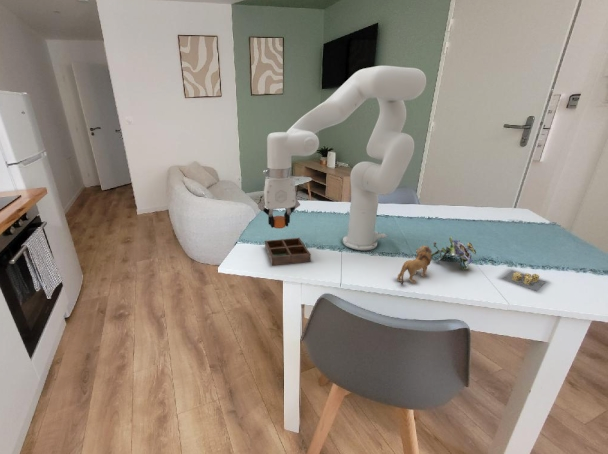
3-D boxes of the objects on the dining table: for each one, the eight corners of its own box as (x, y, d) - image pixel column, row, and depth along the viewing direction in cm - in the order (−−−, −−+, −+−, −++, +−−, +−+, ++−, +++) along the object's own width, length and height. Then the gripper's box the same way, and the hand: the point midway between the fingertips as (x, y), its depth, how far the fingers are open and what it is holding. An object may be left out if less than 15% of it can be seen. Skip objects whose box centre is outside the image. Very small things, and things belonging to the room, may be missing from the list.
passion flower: (460, 282, 96) (479, 268, 86) (424, 271, 99) (438, 256, 89) (463, 253, 101) (482, 237, 90) (429, 243, 104) (443, 226, 94)
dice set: (538, 280, 86) (540, 275, 85) (531, 286, 83) (534, 281, 83) (516, 273, 90) (518, 268, 89) (509, 279, 87) (511, 273, 87)
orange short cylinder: (283, 223, 102) (283, 215, 101) (286, 227, 98) (286, 219, 97) (271, 224, 102) (271, 216, 100) (274, 229, 98) (274, 220, 96)
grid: (299, 244, 115) (299, 237, 114) (310, 261, 102) (310, 254, 101) (264, 248, 114) (264, 240, 112) (271, 265, 101) (271, 257, 100)
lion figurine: (414, 265, 97) (419, 241, 93) (431, 272, 93) (437, 246, 89) (392, 283, 88) (397, 257, 85) (411, 290, 84) (416, 263, 81)
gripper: (254, 177, 88) (256, 231, 95) (308, 173, 90) (306, 227, 97) (251, 172, 95) (253, 223, 102) (301, 169, 97) (299, 219, 104)
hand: (279, 225), depth 100 cm, fingers closed on orange short cylinder, 4 cm apart
